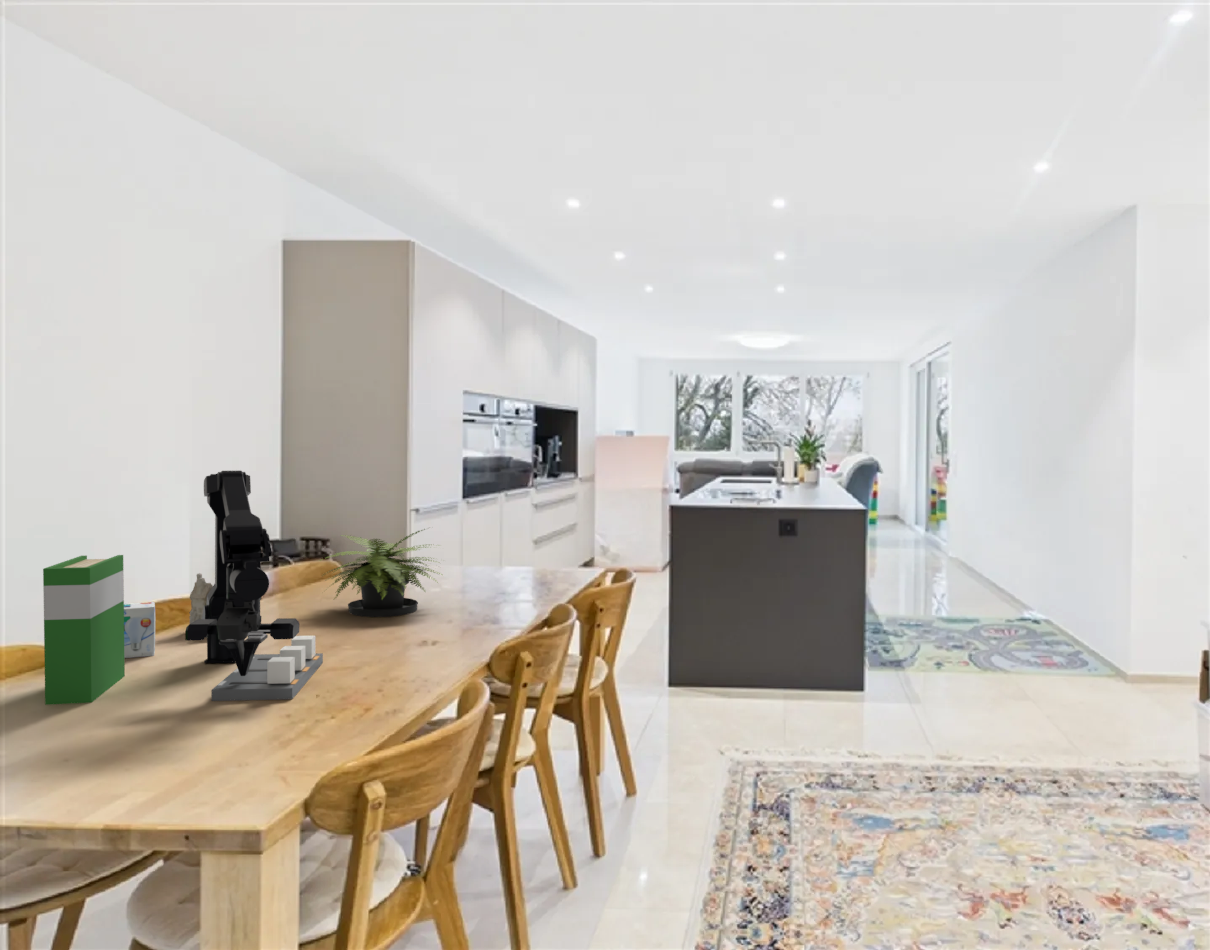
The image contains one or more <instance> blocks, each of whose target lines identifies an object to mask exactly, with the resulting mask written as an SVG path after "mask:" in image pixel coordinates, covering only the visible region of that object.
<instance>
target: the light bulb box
mask: <svg viewBox="0 0 1210 950" xmlns="http://www.w3.org/2000/svg"><path fill="white" fill-rule="evenodd" d="M155 651H156V603H155V602H154V601H147V602H133V603H129V602H128V603H124V659H129V658H141V657H154V656H155Z"/></svg>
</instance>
